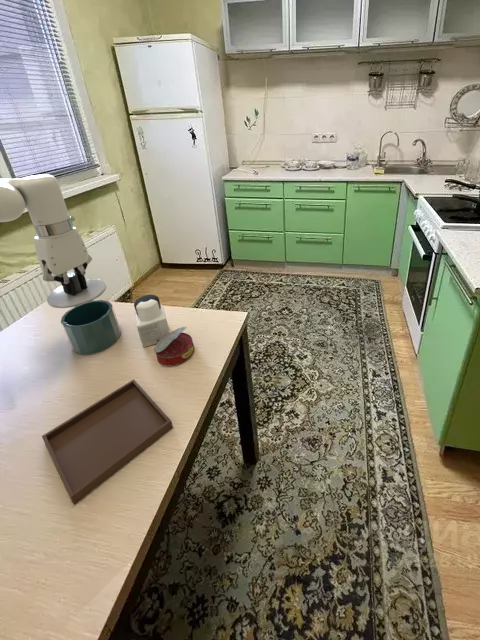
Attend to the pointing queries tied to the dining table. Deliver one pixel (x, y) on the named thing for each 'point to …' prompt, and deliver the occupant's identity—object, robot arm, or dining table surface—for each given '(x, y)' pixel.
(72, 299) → the lid
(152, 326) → the container
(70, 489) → the tray
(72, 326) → the canister
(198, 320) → the dining table surface
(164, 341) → the canned food
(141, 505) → the dining table surface
